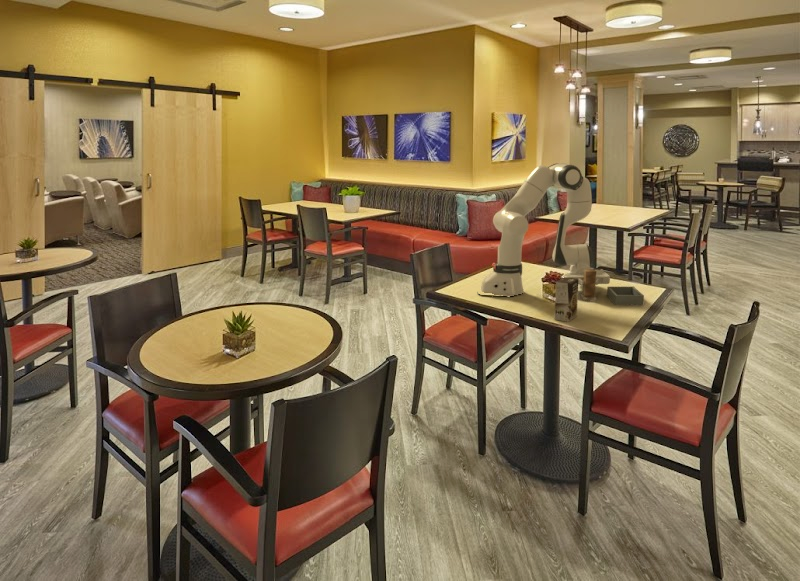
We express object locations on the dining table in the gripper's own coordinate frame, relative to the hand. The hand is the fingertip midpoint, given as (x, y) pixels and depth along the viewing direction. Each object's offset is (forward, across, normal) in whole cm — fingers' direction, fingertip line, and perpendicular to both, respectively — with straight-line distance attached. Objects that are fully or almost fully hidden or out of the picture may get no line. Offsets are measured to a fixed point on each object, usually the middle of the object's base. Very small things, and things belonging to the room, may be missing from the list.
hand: (589, 283), depth 253 cm
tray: (+2, +15, +8) cm, 17 cm away
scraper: (-1, 0, +8) cm, 8 cm away
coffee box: (+28, -15, +8) cm, 33 cm away
